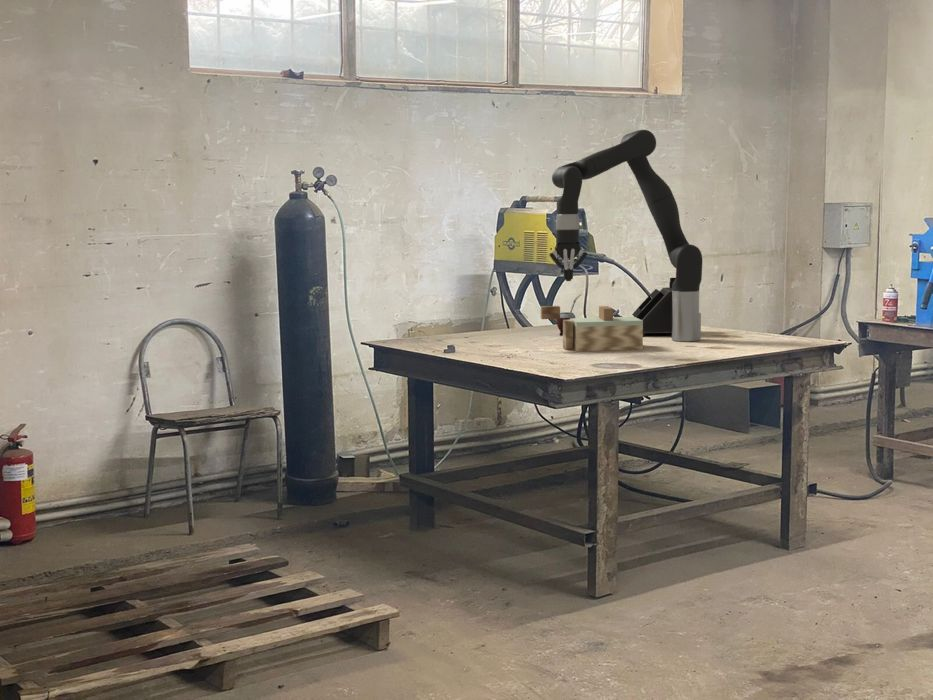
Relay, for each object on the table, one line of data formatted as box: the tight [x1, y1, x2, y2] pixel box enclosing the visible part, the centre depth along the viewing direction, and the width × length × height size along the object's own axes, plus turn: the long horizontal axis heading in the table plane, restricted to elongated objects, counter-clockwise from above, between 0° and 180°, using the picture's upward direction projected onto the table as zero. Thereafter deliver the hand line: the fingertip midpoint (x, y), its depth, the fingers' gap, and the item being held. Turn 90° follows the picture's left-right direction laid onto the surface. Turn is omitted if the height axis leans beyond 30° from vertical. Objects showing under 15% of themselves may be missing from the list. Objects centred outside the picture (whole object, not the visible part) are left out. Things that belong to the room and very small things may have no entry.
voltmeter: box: [631, 277, 676, 337], centre depth 411 cm, size 16×16×20 cm
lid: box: [570, 305, 643, 327], centre depth 376 cm, size 22×12×6 cm, turn 95°
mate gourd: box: [556, 293, 582, 337], centre depth 413 cm, size 8×8×15 cm
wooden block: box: [540, 305, 561, 320], centre depth 374 cm, size 6×3×4 cm, turn 95°
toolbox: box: [562, 320, 644, 352], centre depth 377 cm, size 25×12×10 cm, turn 95°
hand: (568, 280), depth 373 cm, fingers closed
